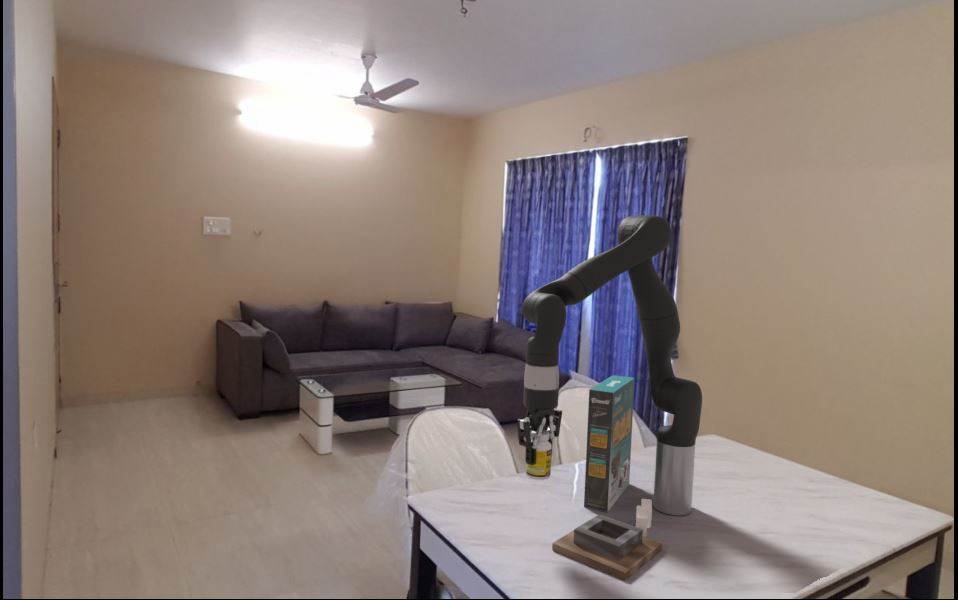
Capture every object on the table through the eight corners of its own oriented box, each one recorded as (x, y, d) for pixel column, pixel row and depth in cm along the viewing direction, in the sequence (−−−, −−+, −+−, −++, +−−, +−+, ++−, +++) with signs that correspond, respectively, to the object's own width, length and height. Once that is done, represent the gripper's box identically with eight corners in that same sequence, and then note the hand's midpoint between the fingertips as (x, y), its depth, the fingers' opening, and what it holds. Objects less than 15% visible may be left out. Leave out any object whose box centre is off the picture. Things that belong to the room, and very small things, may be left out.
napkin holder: (645, 548, 129) (646, 523, 128) (605, 528, 138) (606, 504, 137) (685, 531, 138) (687, 507, 137) (645, 513, 147) (646, 491, 146)
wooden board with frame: (593, 524, 139) (594, 505, 138) (662, 549, 128) (663, 529, 127) (552, 549, 126) (553, 529, 126) (624, 580, 115) (626, 558, 115)
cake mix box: (607, 479, 168) (613, 375, 166) (629, 483, 165) (634, 377, 163) (583, 506, 149) (589, 389, 147) (607, 512, 146) (613, 392, 144)
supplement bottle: (549, 481, 127) (551, 437, 126) (524, 479, 128) (525, 435, 127) (551, 472, 132) (553, 429, 131) (527, 470, 133) (528, 427, 132)
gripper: (535, 393, 120) (533, 473, 122) (573, 382, 131) (571, 456, 133) (507, 386, 125) (505, 464, 127) (546, 377, 136) (543, 449, 137)
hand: (538, 460), depth 130 cm, fingers closed on supplement bottle, 5 cm apart
